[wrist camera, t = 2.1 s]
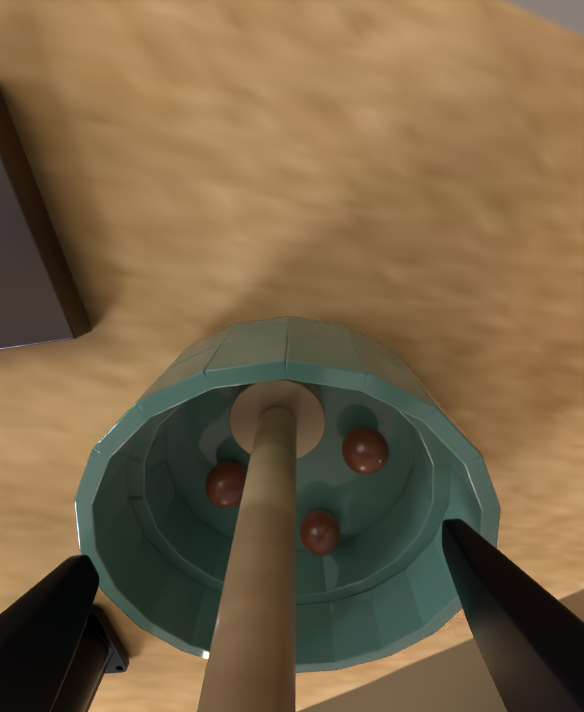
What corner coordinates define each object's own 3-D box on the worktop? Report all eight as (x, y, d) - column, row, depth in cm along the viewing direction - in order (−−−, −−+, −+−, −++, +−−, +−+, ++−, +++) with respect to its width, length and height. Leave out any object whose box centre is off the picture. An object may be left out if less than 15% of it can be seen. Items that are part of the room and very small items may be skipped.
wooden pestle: (328, 440, 15) (398, 918, 5) (243, 449, 15) (128, 920, 5) (317, 361, 14) (385, 793, 3) (225, 373, 14) (5, 807, 3)
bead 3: (383, 451, 15) (395, 482, 13) (341, 456, 15) (347, 487, 13) (381, 415, 14) (393, 442, 13) (336, 420, 15) (342, 448, 13)
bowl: (432, 540, 18) (485, 660, 13) (189, 562, 19) (150, 683, 14) (434, 290, 13) (520, 328, 8) (105, 337, 14) (-4, 398, 9)
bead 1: (256, 482, 16) (250, 515, 14) (216, 486, 16) (206, 520, 14) (248, 449, 15) (241, 479, 13) (206, 454, 15) (194, 484, 14)
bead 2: (339, 527, 17) (344, 563, 15) (302, 531, 17) (302, 567, 15) (335, 497, 16) (340, 532, 14) (296, 502, 16) (296, 537, 15)
